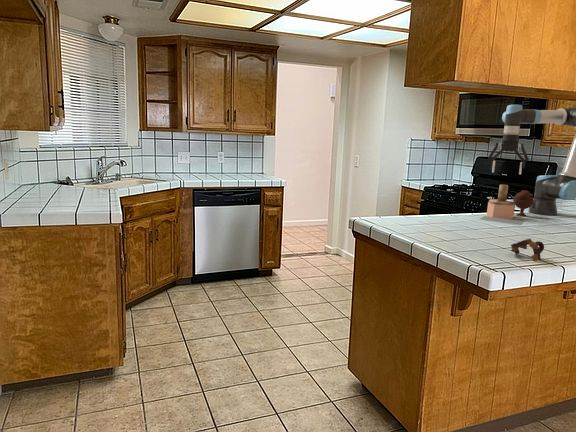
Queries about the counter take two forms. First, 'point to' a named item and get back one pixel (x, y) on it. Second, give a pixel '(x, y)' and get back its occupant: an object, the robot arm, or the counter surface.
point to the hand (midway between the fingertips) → (506, 173)
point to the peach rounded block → (502, 197)
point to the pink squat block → (500, 211)
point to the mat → (502, 220)
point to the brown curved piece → (532, 244)
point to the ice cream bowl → (523, 201)
